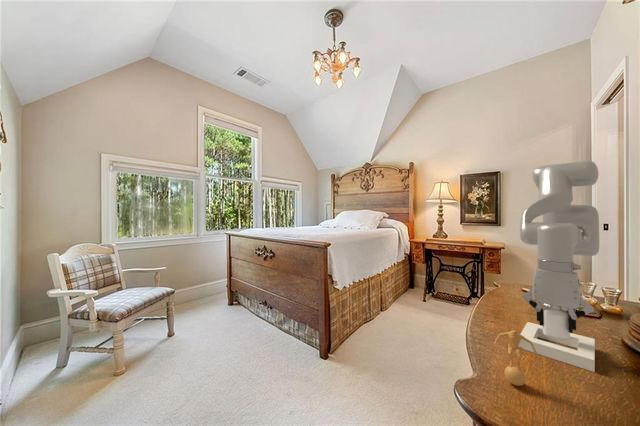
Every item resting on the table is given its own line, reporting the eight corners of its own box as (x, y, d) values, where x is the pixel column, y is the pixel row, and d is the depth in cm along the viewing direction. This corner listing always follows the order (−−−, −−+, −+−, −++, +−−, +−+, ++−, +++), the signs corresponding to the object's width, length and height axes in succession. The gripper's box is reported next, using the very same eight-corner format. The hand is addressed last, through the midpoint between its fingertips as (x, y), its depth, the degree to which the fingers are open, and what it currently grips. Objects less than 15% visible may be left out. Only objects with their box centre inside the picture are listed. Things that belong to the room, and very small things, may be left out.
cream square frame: (527, 330, 82) (527, 321, 82) (594, 349, 70) (594, 338, 70) (518, 347, 72) (518, 337, 72) (594, 372, 61) (594, 360, 61)
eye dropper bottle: (567, 343, 68) (567, 300, 67) (541, 335, 72) (540, 295, 72) (571, 338, 70) (570, 297, 70) (545, 331, 75) (544, 292, 75)
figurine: (492, 380, 58) (492, 331, 58) (495, 368, 63) (494, 322, 63) (539, 397, 53) (538, 342, 53) (538, 382, 57) (537, 331, 57)
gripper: (599, 269, 67) (600, 334, 67) (520, 260, 80) (521, 315, 80) (599, 273, 62) (600, 344, 62) (515, 263, 75) (516, 322, 75)
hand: (555, 327), depth 71 cm, fingers closed on eye dropper bottle, 5 cm apart
